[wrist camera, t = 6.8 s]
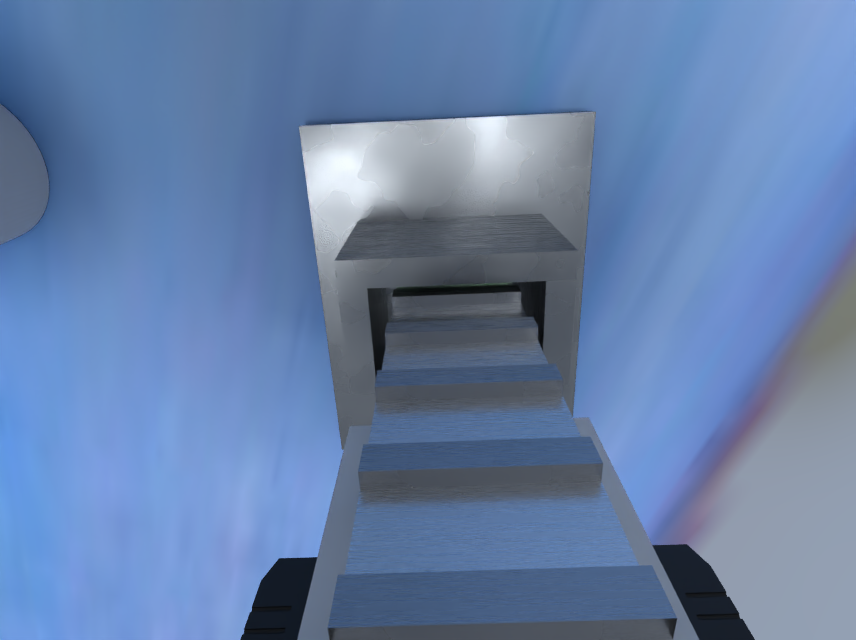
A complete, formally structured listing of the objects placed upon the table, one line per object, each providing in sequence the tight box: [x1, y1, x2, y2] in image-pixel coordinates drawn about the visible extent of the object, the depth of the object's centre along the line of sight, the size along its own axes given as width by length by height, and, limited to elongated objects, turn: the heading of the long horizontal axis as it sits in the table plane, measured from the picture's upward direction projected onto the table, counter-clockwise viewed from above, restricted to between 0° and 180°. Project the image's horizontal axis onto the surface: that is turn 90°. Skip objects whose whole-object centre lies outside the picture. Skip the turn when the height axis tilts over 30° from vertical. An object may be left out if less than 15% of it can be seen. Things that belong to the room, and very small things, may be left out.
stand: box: [299, 111, 596, 450], centre depth 21 cm, size 12×16×8 cm
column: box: [328, 282, 677, 640], centre depth 13 cm, size 4×6×21 cm
